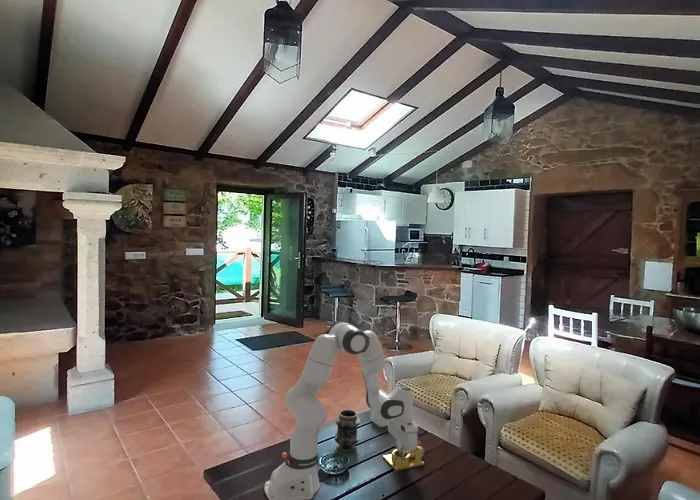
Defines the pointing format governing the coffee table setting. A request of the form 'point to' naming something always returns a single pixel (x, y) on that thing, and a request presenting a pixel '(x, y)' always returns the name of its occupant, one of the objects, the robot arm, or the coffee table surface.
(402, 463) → the brass valve fitting
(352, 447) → the apothecary jar
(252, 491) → the coffee table surface
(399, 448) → the silver metal cylinder
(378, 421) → the skincare box
